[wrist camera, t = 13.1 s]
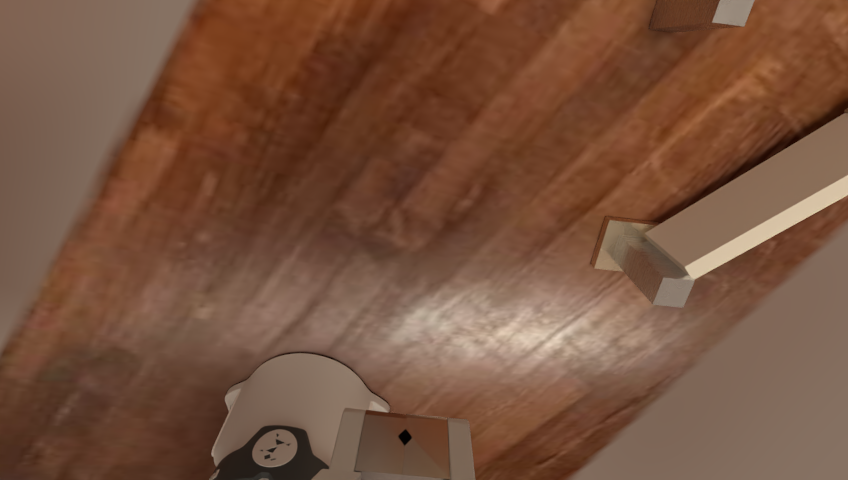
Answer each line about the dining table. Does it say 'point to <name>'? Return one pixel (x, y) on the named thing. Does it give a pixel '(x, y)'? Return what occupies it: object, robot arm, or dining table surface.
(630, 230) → the hinge post
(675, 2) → the post
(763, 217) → the gate
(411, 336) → the dining table surface
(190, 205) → the dining table surface
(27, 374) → the dining table surface
